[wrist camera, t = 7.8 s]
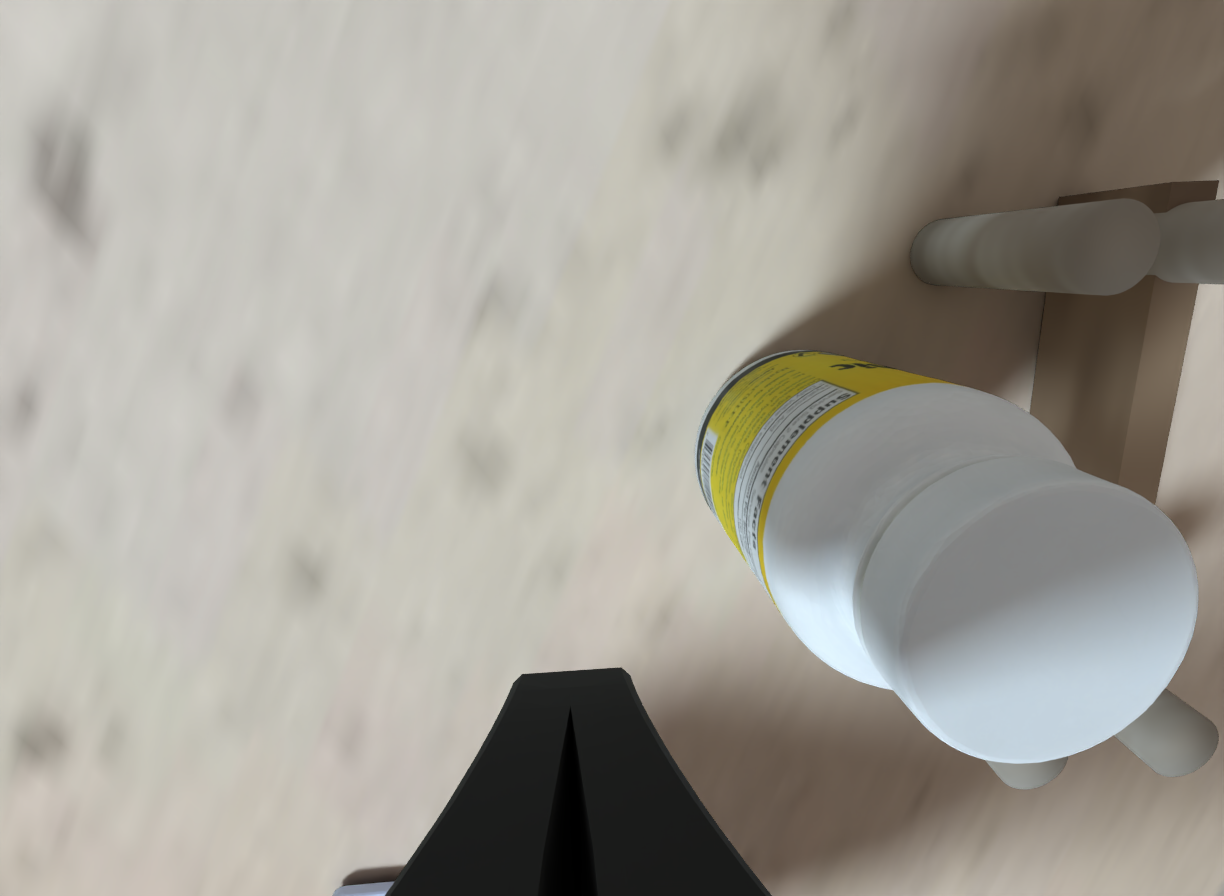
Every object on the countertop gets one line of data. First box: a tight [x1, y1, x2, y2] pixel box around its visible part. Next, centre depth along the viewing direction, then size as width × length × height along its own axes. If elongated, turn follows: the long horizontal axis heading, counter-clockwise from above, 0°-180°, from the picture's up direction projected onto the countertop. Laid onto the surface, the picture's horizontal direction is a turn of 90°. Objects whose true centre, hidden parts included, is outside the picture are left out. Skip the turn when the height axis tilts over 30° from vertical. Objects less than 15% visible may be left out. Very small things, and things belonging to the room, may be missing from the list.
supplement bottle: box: [695, 350, 1198, 764], centre depth 13 cm, size 5×5×10 cm
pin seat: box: [910, 180, 1224, 789], centre depth 15 cm, size 13×5×6 cm, turn 2°
